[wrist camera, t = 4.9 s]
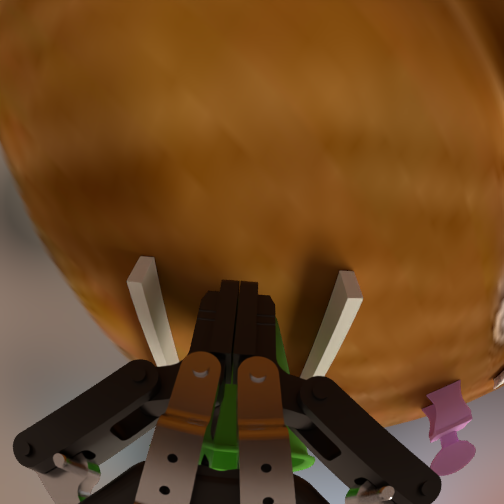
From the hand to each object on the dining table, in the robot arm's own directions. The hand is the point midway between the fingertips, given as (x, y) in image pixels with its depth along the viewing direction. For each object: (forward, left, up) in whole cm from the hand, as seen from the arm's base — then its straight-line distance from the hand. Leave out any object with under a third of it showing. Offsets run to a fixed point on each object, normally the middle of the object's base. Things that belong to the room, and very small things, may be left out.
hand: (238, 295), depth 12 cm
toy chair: (+28, +33, -5) cm, 44 cm away
